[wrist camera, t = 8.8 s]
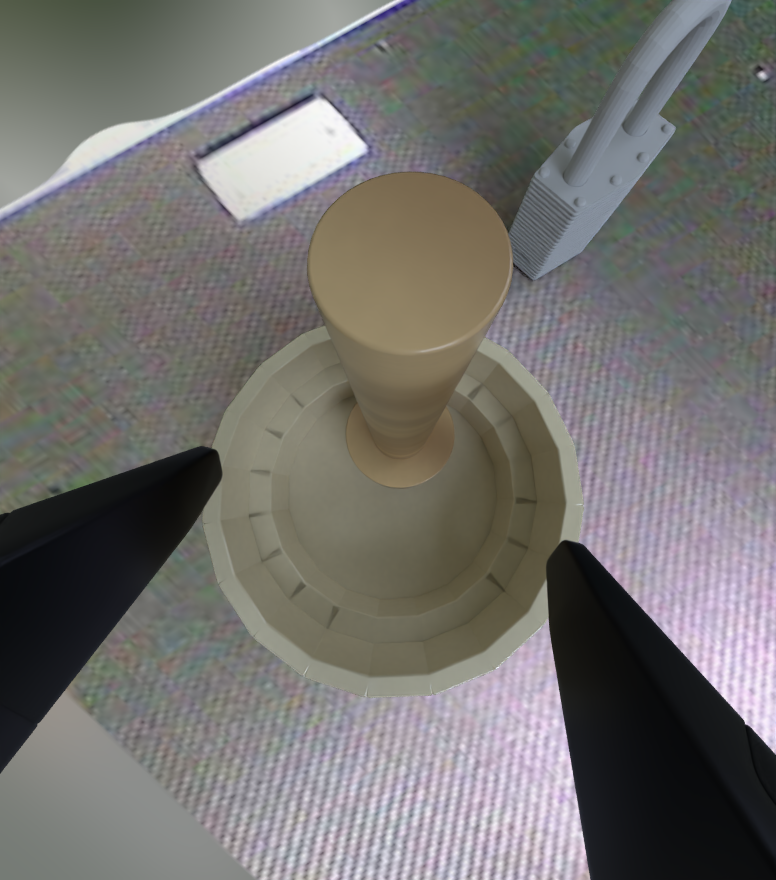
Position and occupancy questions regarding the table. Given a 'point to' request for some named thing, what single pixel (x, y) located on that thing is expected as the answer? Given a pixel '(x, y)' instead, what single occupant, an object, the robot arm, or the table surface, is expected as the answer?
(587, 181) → the padlock
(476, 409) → the bowl
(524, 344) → the table surface
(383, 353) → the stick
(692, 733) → the robot arm
